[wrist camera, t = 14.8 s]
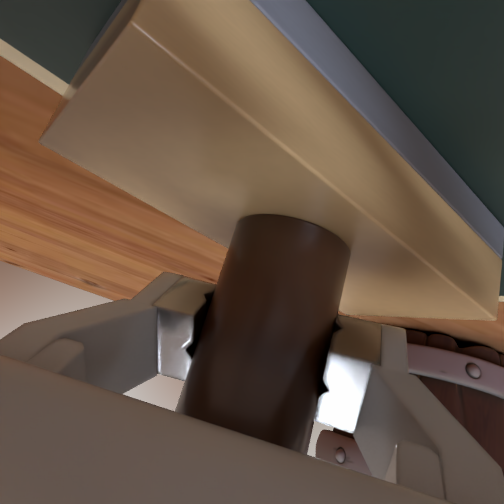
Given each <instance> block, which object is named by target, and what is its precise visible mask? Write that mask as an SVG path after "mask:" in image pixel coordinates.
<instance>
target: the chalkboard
mask: <svg viewBox="0 0 504 504" xmlns="http://www.w3.org/2000/svg"><path fill="white" fill-rule="evenodd" d="M306 1H307V2H308V3H309V4H310V6H311V7H312V8H313V9H314V10H315V11H316V13H317V14H318V15H319V16H320V17H321V18H322V19H323V21H324V22H325V23H326V24H327V25H328V26H329V27H330V29H331V30H332V31H333V32H334V33H335V34H336V35H337V37H338V38H339V39H340V40H341V41H342V42H343V43H344V45H345V46H346V47H347V48H348V49H349V50H350V52H351V53H352V54H353V55H354V56H355V57H356V58H357V60H358V61H359V62H360V63H361V64H362V65H363V66H364V68H365V69H366V70H367V71H368V72H369V73H370V74H371V76H372V77H373V78H374V79H375V80H376V81H377V83H378V84H379V85H380V86H381V87H382V88H383V89H384V91H385V92H386V93H387V94H388V95H389V96H390V97H391V99H392V100H393V101H394V102H395V103H396V104H397V105H398V107H399V108H400V109H401V110H402V111H403V112H404V113H405V115H406V116H407V117H408V118H409V119H410V120H411V122H412V123H413V124H414V125H415V126H416V127H417V128H418V130H419V131H420V132H421V133H422V134H423V135H424V136H425V138H426V139H427V140H428V141H429V142H430V143H431V144H432V146H433V147H434V148H435V149H436V150H437V151H438V153H439V154H440V155H441V156H442V157H443V158H444V159H445V161H446V162H447V163H448V164H449V165H450V166H451V167H452V169H453V170H454V171H455V172H456V173H457V174H458V175H459V177H460V178H461V179H462V180H463V181H464V182H465V183H466V185H467V186H468V187H469V188H470V189H471V190H472V192H473V193H474V194H475V195H476V196H477V197H478V198H479V200H480V201H481V202H482V203H483V204H484V205H485V206H486V208H487V209H488V210H489V211H490V212H491V213H492V214H493V216H494V217H495V218H496V219H497V220H498V221H499V222H500V224H501V225H502V226H503V227H504V0H306ZM120 2H121V0H0V55H1V56H2V57H4V58H5V59H7V60H8V61H10V62H11V63H13V64H14V65H16V66H18V67H19V68H21V69H22V70H24V71H25V72H27V73H28V74H30V75H31V76H33V77H34V78H36V79H38V80H39V81H41V82H42V83H44V84H45V85H47V86H48V87H50V88H51V89H53V90H54V91H56V92H58V93H59V94H61V95H62V96H63V95H64V93H65V91H66V89H67V88H68V86H69V84H70V82H71V80H72V79H73V77H74V75H75V73H76V71H77V69H78V68H79V66H80V64H81V62H82V60H83V58H84V57H85V55H86V53H87V51H88V49H89V48H90V46H91V44H92V43H93V42H94V40H95V39H96V37H97V36H98V34H99V33H100V31H101V30H102V28H103V27H104V25H105V24H106V22H107V21H108V20H109V18H110V17H111V15H112V14H113V12H114V11H115V9H116V8H117V6H118V5H119V3H120ZM501 260H502V268H501V280H500V291H499V302H504V245H503V257H502V259H501Z"/></svg>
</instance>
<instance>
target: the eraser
mask: <svg viewBox="0 0 504 504" xmlns="http://www.w3.org/2000/svg"><path fill="white" fill-rule="evenodd" d="M39 143H40V144H41V145H43V146H45V147H47V148H49V149H50V150H52V151H54V152H56V153H58V154H59V155H61V156H63V157H65V158H67V159H68V160H70V161H72V162H74V163H76V164H77V165H79V166H81V167H83V168H84V169H86V170H88V171H90V172H92V173H93V174H95V175H97V176H99V177H101V178H102V179H104V180H106V181H108V182H110V183H111V184H113V185H115V186H117V187H119V188H120V189H122V190H124V191H126V192H128V193H129V194H131V195H133V196H135V197H136V198H138V199H140V200H142V201H144V202H145V203H147V204H149V205H151V206H153V207H154V208H156V209H158V210H160V211H162V212H163V213H165V214H167V215H169V216H171V217H172V218H174V219H176V220H178V221H180V222H181V223H183V224H185V225H187V226H188V227H190V228H192V229H194V230H196V231H197V232H199V233H201V234H203V235H205V236H206V237H208V238H210V239H212V240H214V241H215V242H217V243H219V244H221V245H223V246H224V247H226V248H228V252H227V255H226V258H225V261H224V264H223V267H222V270H221V273H220V276H219V279H218V282H217V285H216V288H215V291H214V294H213V297H212V300H211V303H210V307H209V310H208V313H207V316H206V319H205V322H204V325H203V328H202V331H201V334H200V337H199V340H198V343H197V346H196V349H195V352H194V355H193V358H192V361H191V364H190V367H189V371H188V374H187V377H186V380H185V383H184V386H183V389H182V392H181V395H180V398H179V401H178V404H177V407H176V410H175V412H178V413H181V414H184V415H187V416H190V417H193V418H196V419H199V420H202V421H205V422H208V423H211V424H214V425H217V426H220V427H223V428H226V429H229V430H233V431H236V432H239V433H242V434H245V435H248V436H251V437H254V438H257V439H260V440H263V441H266V442H269V443H272V444H275V445H278V446H282V447H285V448H288V449H291V450H294V451H297V452H300V453H303V454H306V455H307V452H308V447H309V443H310V438H311V433H312V428H313V424H314V420H315V415H316V410H317V404H318V399H319V395H320V390H321V386H322V383H323V376H324V371H325V367H326V362H327V357H328V353H329V348H330V344H331V340H332V335H333V330H334V326H335V322H336V317H337V314H338V310H339V311H341V312H343V313H344V314H346V315H365V316H390V317H415V318H440V319H465V320H491V321H495V320H497V315H498V303H499V291H500V280H501V268H502V260H501V259H502V257H503V245H504V227H503V226H502V225H501V224H500V222H499V221H498V220H497V219H496V218H495V217H494V216H493V214H492V213H491V212H490V211H489V210H488V209H487V208H486V206H485V205H484V204H483V203H482V202H481V201H480V200H479V198H478V197H477V196H476V195H475V194H474V193H473V192H472V190H471V189H470V188H469V187H468V186H467V185H466V183H465V182H464V181H463V180H462V179H461V178H460V177H459V175H458V174H457V173H456V172H455V171H454V170H453V169H452V167H451V166H450V165H449V164H448V163H447V162H446V161H445V159H444V158H443V157H442V156H441V155H440V154H439V153H438V151H437V150H436V149H435V148H434V147H433V146H432V144H431V143H430V142H429V141H428V140H427V139H426V138H425V136H424V135H423V134H422V133H421V132H420V131H419V130H418V128H417V127H416V126H415V125H414V124H413V123H412V122H411V120H410V119H409V118H408V117H407V116H406V115H405V113H404V112H403V111H402V110H401V109H400V108H399V107H398V105H397V104H396V103H395V102H394V101H393V100H392V99H391V97H390V96H389V95H388V94H387V93H386V92H385V91H384V89H383V88H382V87H381V86H380V85H379V84H378V83H377V81H376V80H375V79H374V78H373V77H372V76H371V74H370V73H369V72H368V71H367V70H366V69H365V68H364V66H363V65H362V64H361V63H360V62H359V61H358V60H357V58H356V57H355V56H354V55H353V54H352V53H351V52H350V50H349V49H348V48H347V47H346V46H345V45H344V43H343V42H342V41H341V40H340V39H339V38H338V37H337V35H336V34H335V33H334V32H333V31H332V30H331V29H330V27H329V26H328V25H327V24H326V23H325V22H324V21H323V19H322V18H321V17H320V16H319V15H318V14H317V13H316V11H315V10H314V9H313V8H312V7H311V6H310V4H309V3H308V2H307V1H306V0H121V2H120V3H119V5H118V6H117V8H116V9H115V11H114V12H113V14H112V15H111V17H110V18H109V20H108V21H107V22H106V24H105V25H104V27H103V28H102V30H101V31H100V33H99V34H98V36H97V37H96V39H95V40H94V42H93V43H92V44H91V46H90V48H89V49H88V51H87V53H86V55H85V57H84V58H83V60H82V62H81V64H80V66H79V68H78V69H77V71H76V73H75V75H74V77H73V79H72V80H71V82H70V84H69V86H68V88H67V89H66V91H65V93H64V95H63V97H62V99H61V100H60V102H59V104H58V106H57V108H56V110H55V111H54V113H53V115H52V117H51V119H50V121H49V122H48V124H47V126H46V128H45V130H44V131H43V133H42V135H41V137H40V139H39Z"/></svg>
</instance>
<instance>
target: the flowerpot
mask: <svg viewBox="0 0 504 504" xmlns="http://www.w3.org/2000/svg"><path fill="white" fill-rule="evenodd" d="M406 339H407V353H408V367H409V374H411V375H415V376H417V378H418V379H419V380H420V381H421V382H422V383H423V384H424V385H425V386H426V387H427V388H428V389H429V391H430V392H431V393H432V394H433V395H434V396H435V397H436V398H437V399H438V400H439V401H440V402H441V403H442V405H443V406H444V407H445V408H446V409H447V410H448V411H449V412H450V413H451V414H452V415H453V416H454V417H455V419H456V420H457V421H458V422H459V423H460V424H461V425H462V426H463V427H464V428H465V429H466V430H467V431H468V433H469V434H470V435H471V436H472V437H473V438H474V439H475V440H476V441H477V442H478V443H479V444H480V446H481V447H482V448H483V449H484V450H485V451H486V452H487V453H488V454H489V455H490V456H491V457H492V458H493V460H494V461H495V462H496V463H497V464H498V465H499V466H500V467H501V469H502V472H503V476H504V355H503V354H498V353H497V352H496V351H495V350H493V349H491V348H488V347H484V346H472V347H466V348H459V347H458V346H457V344H456V342H455V340H454V339H453V338H451V337H449V336H445V335H441V334H432V335H430V336H427V335H426V334H425V333H423V332H419V331H414V330H406ZM316 458H318V459H321V460H324V461H327V462H330V463H334V464H337V465H340V466H343V467H346V468H349V469H352V470H355V471H358V472H361V473H364V474H367V475H370V476H372V474H371V472H370V470H369V468H368V465H367V463H366V461H365V459H364V457H363V455H362V453H361V451H360V449H359V447H358V445H357V443H356V441H355V438H354V436H353V434H352V433H349V432H346V431H343V430H341V429H338V428H335V427H334V429H333V431H330V430H322V431H321V432H320V435H319V437H318V440H317V444H316Z"/></svg>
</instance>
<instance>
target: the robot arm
mask: <svg viewBox="0 0 504 504" xmlns="http://www.w3.org/2000/svg"><path fill="white" fill-rule="evenodd" d="M216 285H217V284H213V283H209V282H206V281H202V280H198V279H194V278H190V277H187V276H183V275H179V274H175V273H170V272H163V273H161V274H160V275H159V276H158V277H157V278H156V279H154V280H153V281H152V282H151V283H150V284H149V285H147V286H146V287H145V288H144V289H143V290H142V291H140V292H139V293H138V294H137V295H136V296H135V297H133V298H132V299H131V300H128V299H121V300H117V301H113V302H109V303H105V304H101V305H97V306H93V307H89V308H85V309H81V310H77V311H73V312H69V313H65V314H61V315H57V316H53V317H49V318H45V319H41V320H37V321H32V322H28V323H24V324H23V325H21V326H20V327H18V328H17V329H15V330H14V331H12V332H11V333H9V334H8V335H6V336H5V337H3V338H2V339H1V340H0V504H504V476H503V472H502V469H501V467H500V466H499V465H498V464H497V463H496V462H495V461H494V460H493V458H492V457H491V456H490V455H489V454H488V453H487V452H486V451H485V450H484V449H483V448H482V447H481V446H480V444H479V443H478V442H477V441H476V440H475V439H474V438H473V437H472V436H471V435H470V434H469V433H468V431H467V430H466V429H465V428H464V427H463V426H462V425H461V424H460V423H459V422H458V421H457V420H456V419H455V417H454V416H453V415H452V414H451V413H450V412H449V411H448V410H447V409H446V408H445V407H444V406H443V405H442V403H441V402H440V401H439V400H438V399H437V398H436V397H435V396H434V395H433V394H432V393H431V392H430V391H429V389H428V388H427V387H426V386H425V385H424V384H423V383H422V382H421V381H420V380H419V379H418V378H417V376H415V375H411V374H409V367H408V353H407V339H406V330H405V329H404V328H399V327H394V326H389V325H384V324H380V323H375V322H371V321H366V320H362V319H357V318H352V317H348V316H343V315H339V314H337V317H336V322H335V326H334V330H333V335H332V340H331V344H330V348H329V353H328V357H327V362H326V367H325V371H324V376H323V383H322V386H321V390H320V395H319V399H318V404H317V410H316V415H315V420H314V421H317V422H320V423H323V424H326V425H329V426H332V427H335V428H338V429H341V430H343V431H346V432H349V433H352V434H353V436H354V438H355V441H356V443H357V445H358V447H359V449H360V451H361V453H362V455H363V457H364V459H365V461H366V463H367V465H368V468H369V470H370V472H371V474H372V476H370V475H367V474H364V473H361V472H358V471H355V470H352V469H349V468H346V467H343V466H340V465H337V464H334V463H330V462H327V461H324V460H321V459H318V458H315V457H312V456H309V455H306V454H303V453H300V452H297V451H294V450H291V449H288V448H285V447H282V446H278V445H275V444H272V443H269V442H266V441H263V440H260V439H257V438H254V437H251V436H248V435H245V434H242V433H239V432H236V431H233V430H229V429H226V428H223V427H220V426H217V425H214V424H211V423H208V422H205V421H202V420H199V419H196V418H193V417H190V416H187V415H184V414H181V413H178V412H174V411H171V410H168V409H165V408H162V407H159V406H156V405H153V404H150V403H147V402H144V401H141V400H138V399H135V398H132V397H129V396H126V395H123V393H125V392H127V391H129V390H130V389H132V388H134V387H136V386H138V385H140V384H142V383H143V382H145V381H147V380H149V379H151V378H153V377H155V376H156V375H157V374H161V375H164V376H168V377H171V378H175V379H179V380H182V381H185V380H186V377H187V374H188V371H189V367H190V364H191V361H192V358H193V355H194V352H195V349H196V346H197V343H198V340H199V337H200V334H201V331H202V328H203V325H204V322H205V319H206V316H207V313H208V310H209V307H210V303H211V300H212V297H213V294H214V291H215V288H216Z"/></svg>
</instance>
